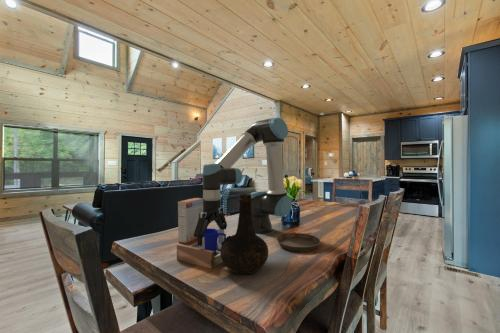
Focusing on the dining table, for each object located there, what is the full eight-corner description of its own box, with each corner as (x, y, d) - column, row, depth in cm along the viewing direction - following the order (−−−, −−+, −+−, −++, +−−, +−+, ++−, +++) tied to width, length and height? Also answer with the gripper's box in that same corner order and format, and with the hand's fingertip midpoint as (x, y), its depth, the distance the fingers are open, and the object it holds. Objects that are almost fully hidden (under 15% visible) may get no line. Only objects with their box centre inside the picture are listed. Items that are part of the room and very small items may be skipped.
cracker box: (195, 235, 133) (194, 197, 133) (203, 236, 130) (203, 198, 130) (177, 242, 120) (177, 200, 120) (186, 244, 118) (186, 201, 118)
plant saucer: (311, 257, 102) (311, 249, 102) (269, 248, 113) (269, 240, 113) (325, 243, 119) (325, 237, 119) (287, 237, 130) (287, 231, 130)
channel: (203, 247, 113) (203, 234, 113) (236, 254, 104) (236, 240, 104) (176, 259, 98) (176, 244, 98) (211, 268, 89) (211, 252, 89)
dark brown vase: (225, 258, 99) (225, 191, 99) (269, 260, 97) (268, 191, 97) (215, 278, 81) (215, 196, 81) (267, 281, 80) (267, 197, 80)
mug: (222, 258, 99) (222, 234, 99) (195, 256, 102) (195, 232, 102) (228, 251, 107) (228, 229, 107) (203, 249, 110) (203, 227, 110)
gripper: (221, 195, 116) (221, 239, 116) (184, 202, 95) (184, 255, 95) (234, 196, 113) (234, 241, 113) (199, 203, 91) (199, 259, 91)
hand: (211, 248), depth 104 cm, fingers open, 13 cm apart
